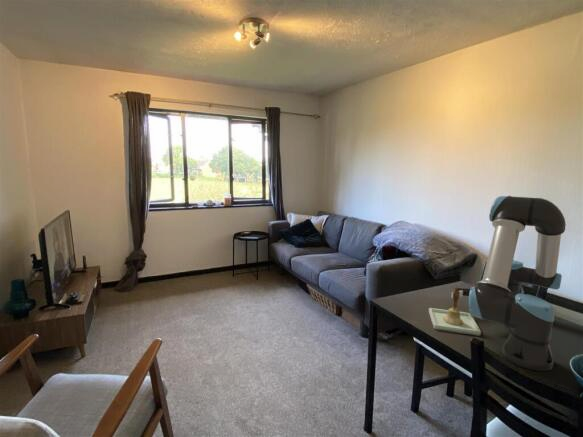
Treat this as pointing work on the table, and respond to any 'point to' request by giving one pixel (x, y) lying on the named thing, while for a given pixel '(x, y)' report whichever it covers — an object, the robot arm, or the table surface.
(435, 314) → the tray
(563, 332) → the table surface
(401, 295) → the table surface
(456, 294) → the hand bell
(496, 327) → the table surface
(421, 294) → the table surface
